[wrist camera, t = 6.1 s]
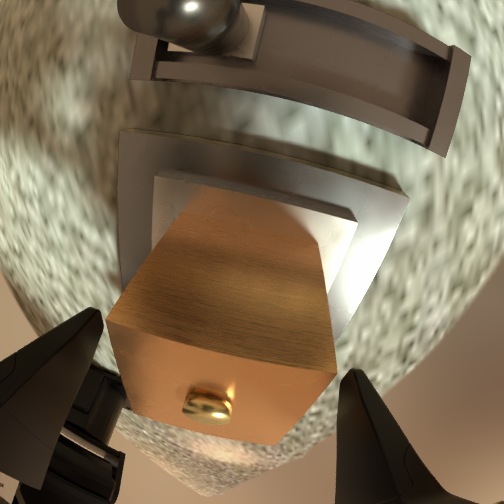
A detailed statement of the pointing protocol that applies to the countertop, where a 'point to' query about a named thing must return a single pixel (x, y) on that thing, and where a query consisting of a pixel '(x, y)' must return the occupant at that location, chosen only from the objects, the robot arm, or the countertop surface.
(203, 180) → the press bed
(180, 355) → the block
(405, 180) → the countertop surface
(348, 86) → the lever track
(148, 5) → the lever
